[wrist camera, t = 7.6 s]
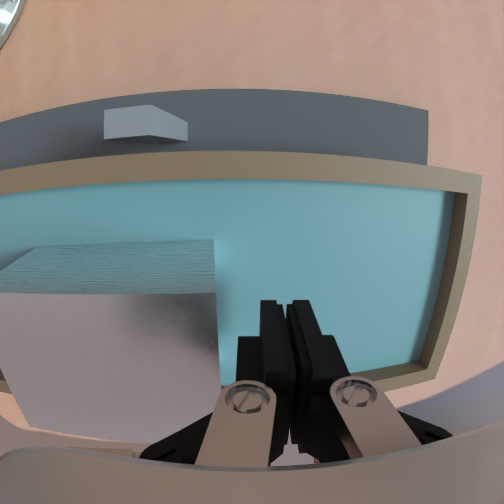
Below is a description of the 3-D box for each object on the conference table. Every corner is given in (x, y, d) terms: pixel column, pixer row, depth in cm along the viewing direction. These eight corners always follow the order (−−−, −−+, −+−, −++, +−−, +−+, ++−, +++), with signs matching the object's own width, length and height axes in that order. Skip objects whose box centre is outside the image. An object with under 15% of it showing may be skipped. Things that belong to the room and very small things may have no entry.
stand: (24, 339, 24) (-25, 393, 16) (-8, 127, 18) (-85, 132, 10) (386, 355, 25) (429, 426, 16) (420, 112, 19) (502, 101, 10)
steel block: (66, 359, 14) (29, 426, 9) (37, 245, 12) (-28, 291, 7) (219, 362, 14) (225, 442, 10) (214, 239, 13) (215, 292, 8)
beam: (-36, 352, 15) (-55, 375, 12) (-75, 188, 11) (-105, 197, 8) (411, 353, 19) (434, 378, 16) (446, 169, 15) (481, 175, 12)
